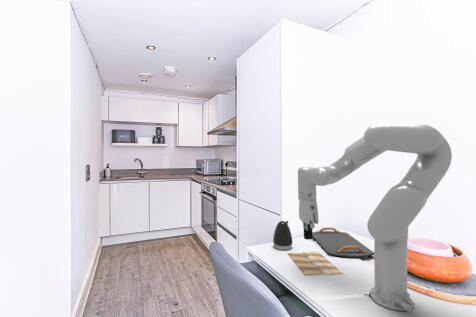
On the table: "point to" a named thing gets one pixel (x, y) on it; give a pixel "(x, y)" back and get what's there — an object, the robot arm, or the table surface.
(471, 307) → the table surface
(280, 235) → the pump dispenser
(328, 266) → the laid boards
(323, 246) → the serving board
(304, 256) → the plank
